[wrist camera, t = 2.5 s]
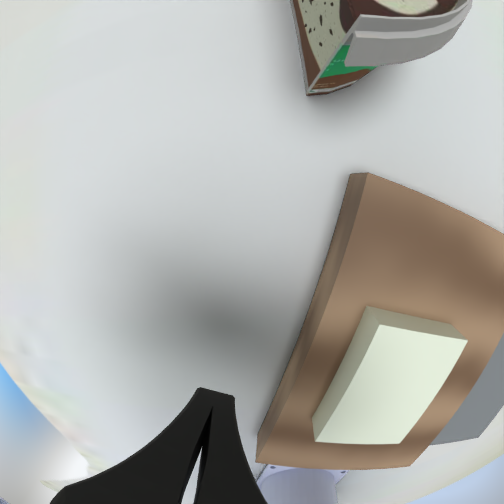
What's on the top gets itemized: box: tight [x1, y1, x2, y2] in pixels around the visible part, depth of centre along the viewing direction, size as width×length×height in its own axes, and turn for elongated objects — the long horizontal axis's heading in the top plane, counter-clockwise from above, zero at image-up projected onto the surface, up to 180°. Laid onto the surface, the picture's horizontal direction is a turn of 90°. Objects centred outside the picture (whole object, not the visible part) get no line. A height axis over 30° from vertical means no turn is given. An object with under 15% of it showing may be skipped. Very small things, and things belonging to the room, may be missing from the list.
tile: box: [312, 306, 468, 444], centre depth 13 cm, size 8×6×2 cm
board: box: [256, 173, 504, 470], centre depth 16 cm, size 20×14×3 cm
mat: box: [430, 333, 504, 445], centre depth 17 cm, size 20×12×1 cm, turn 166°
